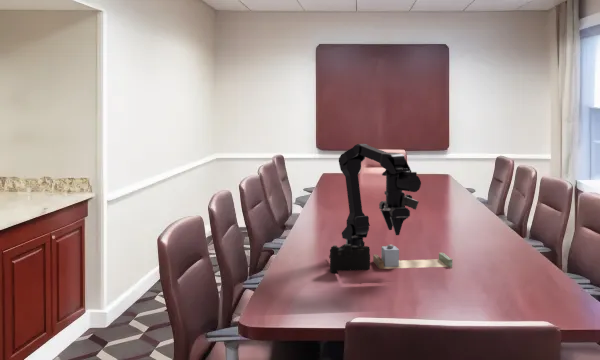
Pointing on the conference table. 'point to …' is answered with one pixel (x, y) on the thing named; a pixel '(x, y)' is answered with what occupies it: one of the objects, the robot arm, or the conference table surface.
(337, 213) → the conference table surface
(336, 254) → the camera
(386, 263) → the block
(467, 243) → the conference table surface
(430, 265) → the track
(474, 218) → the conference table surface
